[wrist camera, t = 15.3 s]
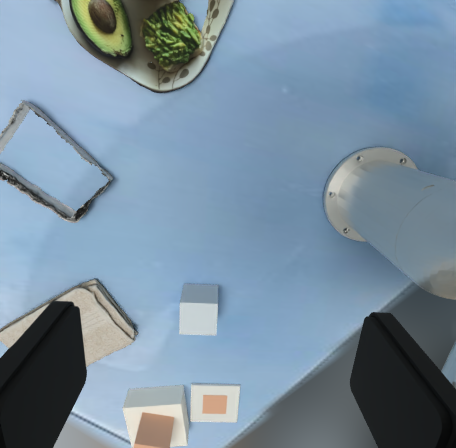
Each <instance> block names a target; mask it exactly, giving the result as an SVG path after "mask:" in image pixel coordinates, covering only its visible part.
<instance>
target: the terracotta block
mask: <svg viewBox="0 0 456 448" xmlns="http://www.w3.org/2000/svg"><path fill="white" fill-rule="evenodd" d="M173 422H174V417H171V416H164V415H158V414H152V413H145V412H142V416H141V420H140V423H139V427H138V431H137V435H136V439H135V443H134V447H133V448H170V443H171V436H172V429H173Z"/></svg>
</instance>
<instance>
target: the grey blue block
mask: <svg viewBox="0 0 456 448" xmlns="http://www.w3.org/2000/svg"><path fill="white" fill-rule="evenodd" d="M217 314H218V285H211V284H186V283H184V285H183V290H182V294H181V299H180V329H179V334H187V335H216V331H217Z"/></svg>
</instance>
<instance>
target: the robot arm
mask: <svg viewBox="0 0 456 448" xmlns="http://www.w3.org/2000/svg"><path fill="white" fill-rule="evenodd" d="M358 156H359V159H358V160H357V157H358ZM400 159H401V161H400ZM330 192H331V195H329V193H330ZM323 205H324V210H325V214H326V216H327V219H328V220H329V222H330V223H331V225H332V226H333V227H334V228H335V229H336V230H337V231H338V232H339V233H340V234H342V235H343V236H345V237H347V238H349V239H352V240H356V241H362V242H368V243H370V244H371V245H372V246H373V247H374V248H375V249H376V250H378V251H379V252H380V253H381V254H382V255H383V256H384V257H386V258H387V259H388V260H389V261H390V262H391V263H392V264H394V265H395V266H396V267H397V268H398V269H399V270H400V271H402V272H403V273H404V274H405V275H406V276H408V277H409V278H410V279H411V280H412V281H413V282H415V283H416V284H417V285H418V286H420V287H421V288H423V289H424V290H426V291H428V292H430V293H432V294H435V295H437V296H440V297H444V298H448V299H455V300H456V181H455V180H452V179H448V178H445V177H441V176H438V175H434V174H431V173H427V172H424V171H420V170H418V169H417V167H416V165H415V163H414V162H413V161H412V160H411V159H410V158H409V157H408V156H406V155H405V154H403V153H402V152H400V151H397V150H395V149H391V148H386V147H371V148H365V149H362V150H359V151H357V152H355V153H353V154H351V155H349V156H348V157H347V158H345V159H344V160H343V161H342V162H340V163H339V165H338V166H337V167H336V168H335V169H334V170H333V172H332V174H331V175H330V177H329V179H328V181H327V184H326V186H325V190H324V195H323ZM344 228H345V229H344ZM343 229H344V230H343ZM86 376H87V370H86V361H85V352H84V343H83V334H82V325H81V316H80V309H79V307H78V306H75V305H74V303H73V302H72V301H52V302H51V303H50V304H49V305H48V306H47V307H46V309H45V310H44V311H43V312H42V313H41V314H40V315H39V316H38V318H37V319H36V320H35V321H34V322H33V323H32V324H31V325H30V327H29V328H28V329H27V330H26V331H25V332H24V333H23V334H22V336H21V337H20V338H19V339H18V340H17V341H16V342H15V343H14V344H13V345H12V346H11V347H10V348H9V349H8V350H7V351H6V352H5V354H4V355H3V356H2V357H1V358H0V448H53V447H54V444H55V442H56V440H57V438H58V436H59V434H60V432H61V430H62V428H63V426H64V424H65V422H66V420H67V418H68V416H69V414H70V412H71V410H72V408H73V406H74V404H75V402H76V400H77V398H78V396H79V394H80V392H81V390H82V388H83V386H84V384H85V381H86ZM350 387H351V391H352V393H353V395H354V397H355V399H356V401H357V404H358V406H359V408H360V410H361V412H362V414H363V416H364V419H365V421H366V423H367V425H368V427H369V429H370V431H371V433H372V435H373V438H374V440H375V441H376V444H377V446H378V448H456V341H455V343H454V346H453V348H452V350H451V352H450V354H449V356H448V358H447V360H446V362H445V365H444V367H443V369H442V371H440V370H439V369H438V367H437V366H436V365H435V364H434V363H433V362H432V361H431V359H430V358H429V357H428V356H427V355H426V354H425V353H424V351H423V350H422V349H421V348H420V347H419V345H418V344H417V343H416V342H415V341H414V339H413V338H412V337H411V336H410V335H409V334H408V332H407V331H406V330H405V329H404V328H403V327H402V325H401V324H400V323H399V322H398V321H397V320H396V318H395V317H394V316H393V315H392V314H391V313H378V312H373V313H371V314H370V315H369V317H366V318H365V319H364V323H363V327H362V331H361V335H360V340H359V344H358V348H357V353H356V357H355V361H354V365H353V370H352V374H351V378H350Z"/></svg>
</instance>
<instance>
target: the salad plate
mask: <svg viewBox="0 0 456 448" xmlns="http://www.w3.org/2000/svg"><path fill="white" fill-rule="evenodd" d="M55 1H57V2H58V4H59V5H60V7H61V10H62V12H63V15H64V18H65V21H66V24H67V26H68V28H69V30H70V32H71V33H72V35H73V36H74V37H75V39H76V40H77V42H78V43H79V44H80V45H81V46H82V47H83V48H84V49H85V50H87V51H88V52H89V53H90V54H92V55H93V56H94V57H96V58H97V59H99V60H101V61H102V62H104V63H106V64H107V65H109V66H111V67H112V68H114V69H116V70H117V71H119V72H121V73H123V74H124V75H126V76H127V77H129V78H131V79H132V80H133V81H134V82H136V83H137V84H139V85H140V86H143V87H145V88H147V89H149V90H151V91H153V92H156V93H166V92H170V91H174V90H177V89H180V88H182V87H184V86H185V85H187V84H189V83H191V82H192V81H193V80H194V79H195V78H196V77H197V76H198V75H199V74H200V73H201V71H202V70H203V68H204V67H205V65H206V64H207V62H208V60H209V58H210V55H211V52H212V49H213V47H214V45H215V43H216V41H217V39H218V37H219V35H220V33H221V30H222V29H223V27H224V25H225V23H226V20H227V18H228V16H229V13H230V10H231V7H232V5H233V3H234V0H209V2H208V10H207V17H206V20H205V22H204V25H203V28H202V31H201V33H200V31H199V30H198V28H197V26H196V25H195V23H194V22H193V20H194V16H193V14H191V13H189V14H188V12H187V11H186V9H185V6H184V5H183V4H182V3H180V2H179V0H55ZM151 62H152V63H151Z"/></svg>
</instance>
